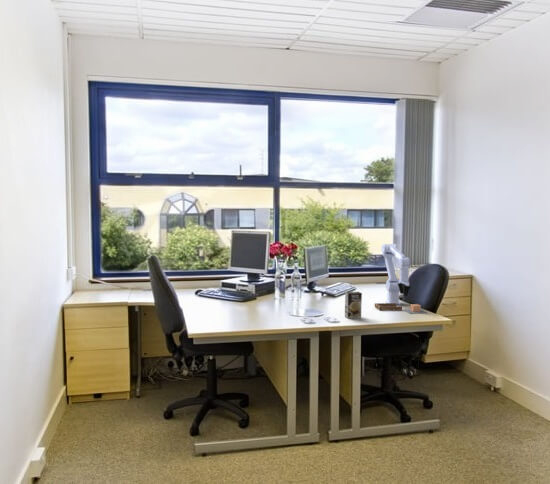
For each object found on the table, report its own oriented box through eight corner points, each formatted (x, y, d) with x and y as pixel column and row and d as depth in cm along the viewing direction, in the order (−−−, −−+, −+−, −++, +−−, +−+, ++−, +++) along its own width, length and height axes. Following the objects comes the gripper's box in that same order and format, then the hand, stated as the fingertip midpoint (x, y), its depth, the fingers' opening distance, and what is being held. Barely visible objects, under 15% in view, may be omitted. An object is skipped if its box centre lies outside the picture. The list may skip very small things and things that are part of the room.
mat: (403, 309, 333) (403, 309, 333) (420, 309, 334) (420, 308, 334) (409, 313, 321) (409, 312, 321) (427, 313, 322) (427, 312, 322)
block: (410, 310, 330) (410, 304, 330) (417, 309, 330) (417, 304, 330) (413, 311, 325) (413, 305, 325) (420, 311, 325) (420, 305, 325)
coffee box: (347, 318, 306) (348, 293, 304) (344, 316, 312) (344, 291, 311) (361, 318, 307) (362, 292, 306) (357, 315, 314) (358, 291, 312)
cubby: (374, 306, 341) (374, 303, 341) (396, 306, 343) (396, 303, 343) (379, 310, 330) (379, 307, 329) (402, 310, 331) (402, 306, 331)
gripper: (395, 273, 343) (394, 292, 344) (402, 276, 329) (401, 296, 330) (404, 273, 344) (404, 292, 345) (412, 276, 329) (411, 296, 331)
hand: (403, 294), depth 337 cm, fingers open, 7 cm apart
